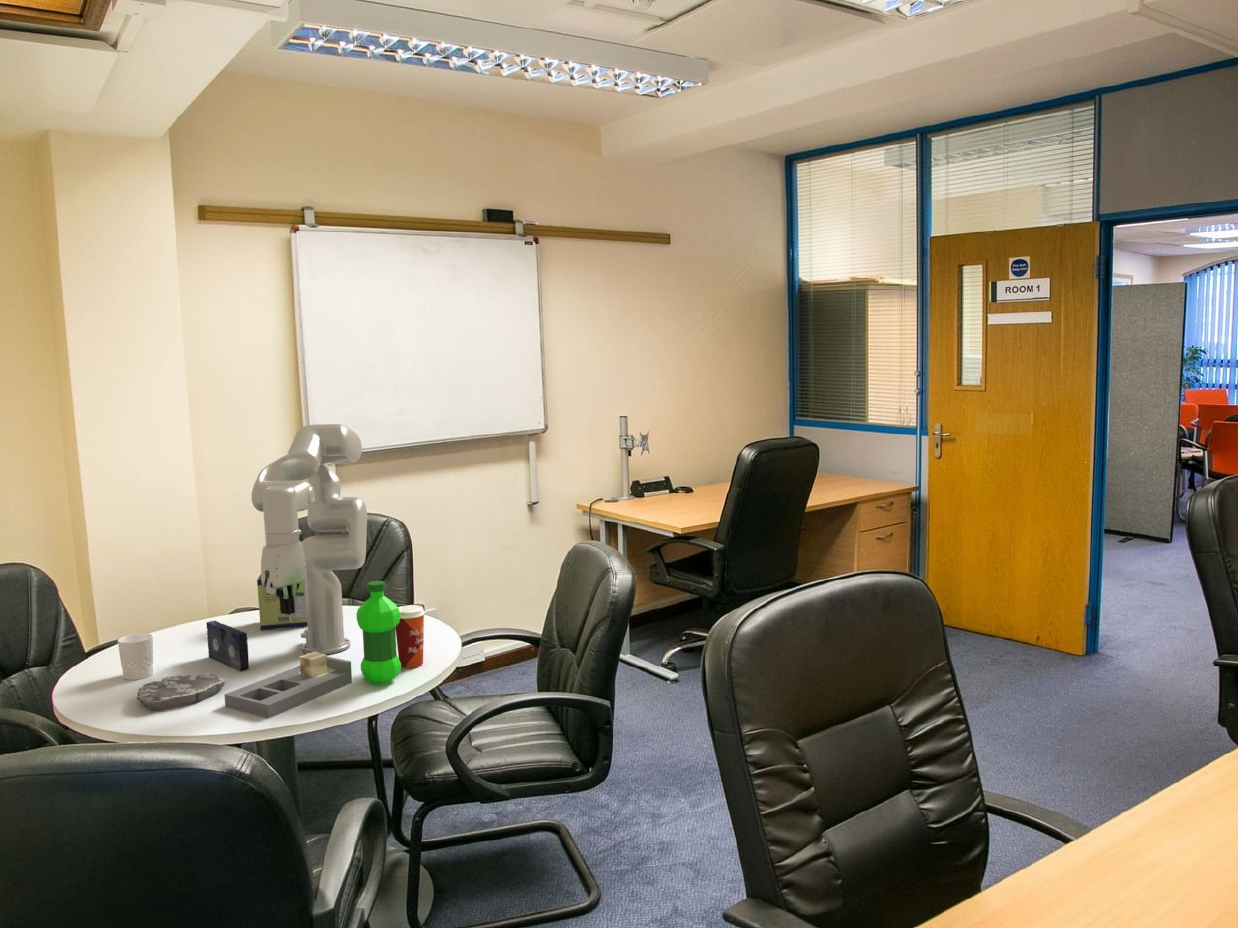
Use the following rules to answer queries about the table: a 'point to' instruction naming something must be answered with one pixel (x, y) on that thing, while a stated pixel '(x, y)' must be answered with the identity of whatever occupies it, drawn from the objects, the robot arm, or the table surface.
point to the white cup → (136, 656)
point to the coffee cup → (410, 636)
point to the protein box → (272, 613)
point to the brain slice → (179, 690)
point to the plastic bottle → (379, 635)
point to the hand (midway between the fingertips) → (287, 612)
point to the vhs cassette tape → (227, 645)
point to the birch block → (313, 664)
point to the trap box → (288, 689)
